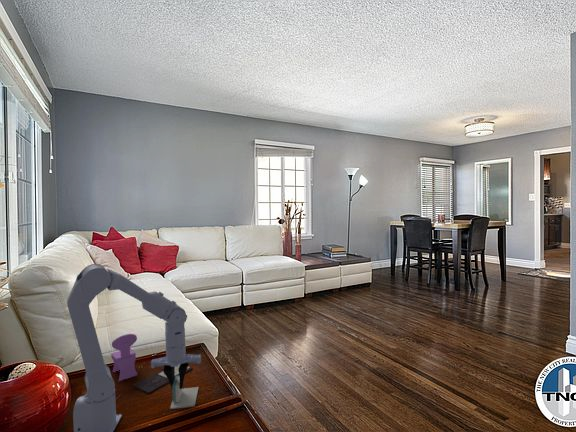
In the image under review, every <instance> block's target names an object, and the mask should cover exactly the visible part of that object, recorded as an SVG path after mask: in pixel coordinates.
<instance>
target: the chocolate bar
mask: <svg viewBox="0 0 576 432" xmlns="http://www.w3.org/2000/svg"><path fill="white" fill-rule="evenodd" d="M179 366H180V365H178V366H175V378H176V376H179V370H178V369H179ZM193 369H194V368H193V367H191V366H188V368H187V370H186V373H185V375H186V374H188V373H189V372H192V371H193ZM163 370H164V368H163V369H161V370H159V371H157V372H155V373H153V374H152V375H149V376H147V377H146V378H143V379H142V380H141V379H140V381H137V382H135V383H134V384H131V386H132V388H134V389H136V390H138V391H141V392H142V393H145V394H147V395H149V394H152V393H154V392H155V391H157V390H160V389H161V388H162V387H165V386H166V385H168V384H170V382H169V380H168V378H167V376H166V375H165V374H164V372H163Z"/></svg>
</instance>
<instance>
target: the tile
mask: <svg viewBox="0 0 576 432" xmlns="http://www.w3.org/2000/svg"><path fill="white" fill-rule="evenodd" d="M183 389H184V387H183V388H182V389H180V377H179V376H176V378H175V380H174V383H173V385H172V389H171V391H172V401H173V402H179V401H180V397H181V394H182V391H183Z"/></svg>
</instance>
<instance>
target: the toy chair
mask: <svg viewBox="0 0 576 432" xmlns="http://www.w3.org/2000/svg"><path fill="white" fill-rule="evenodd" d="M137 340H138V337H137V335H136V334H135V333H128V334H127V333H126V334H123V335H121V336H118V337H116V338H115V339H113V341H112V342H111V347H112V348H113V349H114V350H116V351H115V352H111V354H110V355H111V360H112V361H113V369H112V372H115V373H117V372H116V371H118V372H119V377H118V382H122V381H124V379H125V380H127V379H129V378H133V377H136V376H139V375H138V372H137V371H136V368H135V363H136V360H137V356H136V352H135V351H133V349H132V348H131V347H132V346H133V345H134V344H135V343H136V342H137ZM119 370H120V371H119Z"/></svg>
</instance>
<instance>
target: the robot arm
mask: <svg viewBox="0 0 576 432" xmlns="http://www.w3.org/2000/svg"><path fill="white" fill-rule="evenodd" d="M105 290H108V291H117V290H119V291H121V292H122V293H124V294H126V295H129V296H130V297H132V298H134V299H135V300H137V301H139V302H141V306H142V309H143V310H144V311H146V312H148V313H150V314H151V315H153V316H155V317H156V318H158V319H160V320H163V321H165V323H164V326H165V327H164V329H165V330H164V331H165V334H164V336H165V355H166V356H163V357H159V358H154V359H153V358H152V360H151V361H150V369H155V368H158V367H163V369H164V370H163V369H162V370H163V372H164V374H165V375H166V376H167V378H168V380H169V382H170V383H169V385H170V388H171V390H172V385H173V383H174V380H175V366H178V365H180V366H179V369H178V370H179V377H180V389H182V388H183V389H184V380H185V375H186V374H187V373H186V370H187V368H188V367H189V364H197V365H198V364H201V362H202V356H201V354H189V353H188V354H187V352H186V347H187V346H186V329H185V323H186V322H187V320H188V314H187V312H186V310H185V309H184V308H182V307H181V306H180V305H178V304H177V302H176V301H175V300H170V299H168V298H167V297H165V296H164V293H162V292H161V291H158V292H157V291H151V292H148V291H146V289H144V288H142V287H141V286H139V285H137V284H136V283H134V282H133V281H131V280H130V279H128V278H127V277H125V276H124V275H122V274H121V273H118V272H116V271H113V270H112V269H110V268H107V269H106V268H105V267H104V266H103V265H102V264H98V263H91V264H89V265H87V266H85V267H84V268H83V269H82V270H81V271H80V273H79V274H77V276H76V279H75V282H74V284H73V286H72V287H71V291H70V292H69V295H68V297H67V301H66V305H67V308H68V309H67V310H68V311H69V312H68V313H69V316H70V320H71V323H72V326H73V330H74V334H75V337H76V340H77V344H78V348H79V352H80V354H81V355H80V356H81V358H82V362H83V366H84V370H85V375H84V383H85V385H86V393H85V394H84V395H81V396H79V397H78V398H77V399H76V401H75V404H74V405H73V411H72V412H73V413H72V416H73V417H72V419H73V421H72V422H73V432H114V431H115V430H116V427H117V425H118V424H119V422H120V420H121V418H122V416H123V415H122V414H117V408H116V407H117V405H116V388H115V387H116V383H115V381H114V378H113V377H112V372H111V369H110V367H109V366H108V365H106V363H105V360H104V356H103V353H102V349H101V346H100V342H99V337H98V334H97V331H96V328H95V325H94V320H93V319H94V318H93V315H92V312H91V309H90V304H91V303H92V302H93V300H94V299H95V298H96V297H97V296H98V295H99V294H101V293H102V292H103V291H105ZM185 373H186V374H185Z"/></svg>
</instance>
